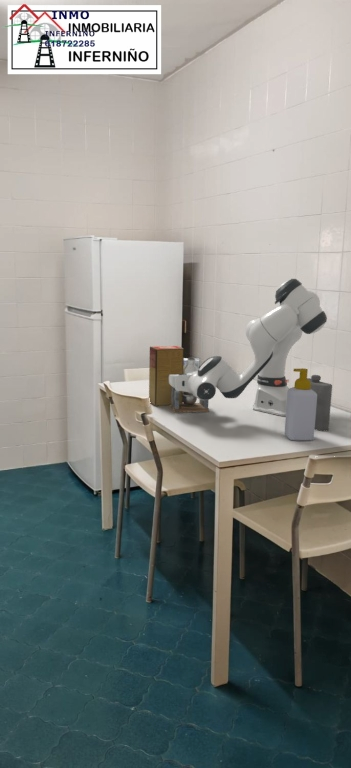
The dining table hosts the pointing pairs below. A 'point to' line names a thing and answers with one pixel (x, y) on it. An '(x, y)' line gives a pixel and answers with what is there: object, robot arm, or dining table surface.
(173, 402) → the bookend shelf
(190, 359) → the plastic bottle
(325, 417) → the flask
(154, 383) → the food packaging
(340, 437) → the dining table surface
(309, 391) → the soap bottle
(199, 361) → the light bulb box
